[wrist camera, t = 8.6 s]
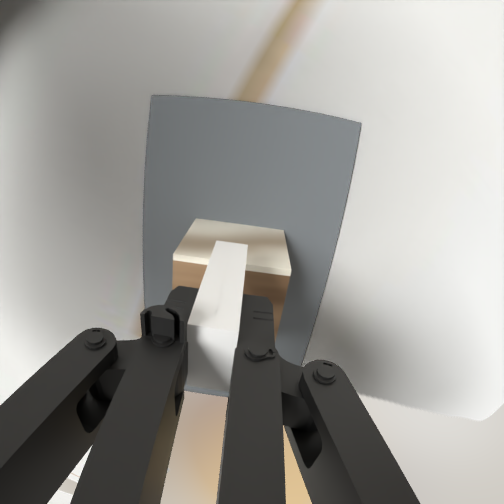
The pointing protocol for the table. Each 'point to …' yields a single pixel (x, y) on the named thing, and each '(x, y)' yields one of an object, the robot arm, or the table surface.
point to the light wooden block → (257, 262)
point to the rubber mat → (248, 192)
